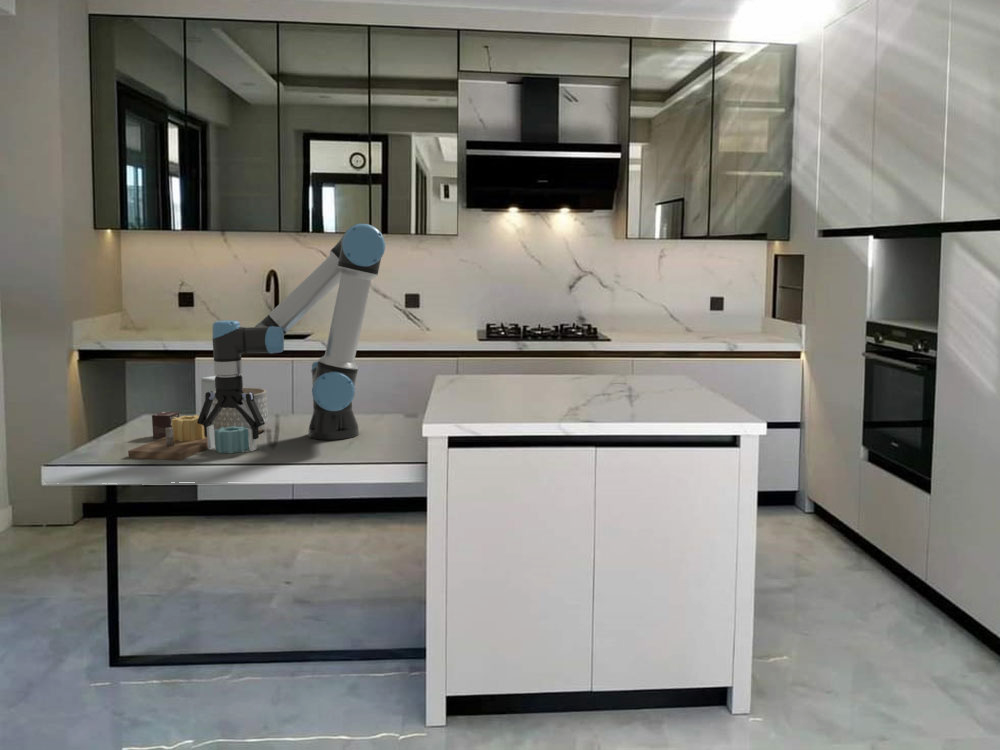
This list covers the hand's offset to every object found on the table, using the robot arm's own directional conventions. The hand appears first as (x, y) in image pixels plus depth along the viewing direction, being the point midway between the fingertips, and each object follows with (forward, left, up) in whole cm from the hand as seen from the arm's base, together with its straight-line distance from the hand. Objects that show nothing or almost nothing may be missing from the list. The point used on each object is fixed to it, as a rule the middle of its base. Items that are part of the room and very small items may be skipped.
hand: (232, 449), depth 266 cm
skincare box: (+26, -38, 0) cm, 46 cm away
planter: (+10, -24, 0) cm, 26 cm away
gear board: (+16, +1, 0) cm, 16 cm away
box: (+29, -13, 0) cm, 32 cm away
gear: (0, 0, 0) cm, 0 cm away
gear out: (+16, -4, +2) cm, 16 cm away
